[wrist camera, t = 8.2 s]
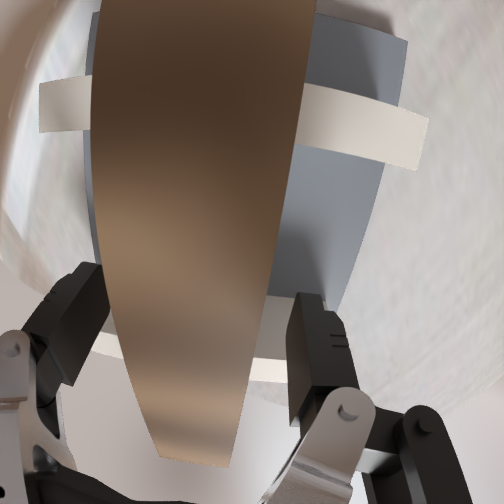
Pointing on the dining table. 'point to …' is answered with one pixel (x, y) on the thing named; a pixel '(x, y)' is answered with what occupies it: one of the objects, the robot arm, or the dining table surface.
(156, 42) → the brown wooden bar
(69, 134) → the dining table surface
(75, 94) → the ridge stand
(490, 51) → the dining table surface
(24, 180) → the dining table surface
